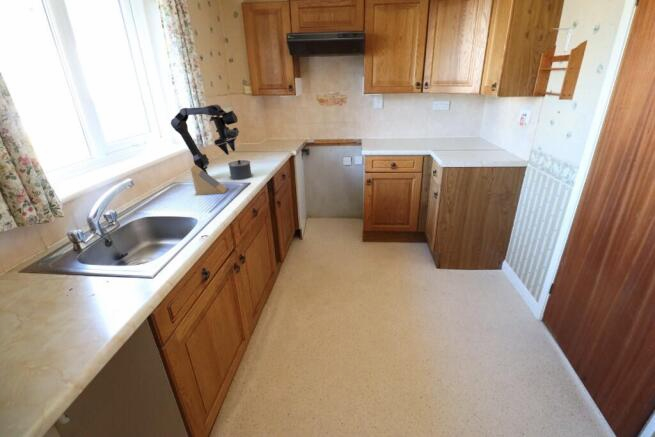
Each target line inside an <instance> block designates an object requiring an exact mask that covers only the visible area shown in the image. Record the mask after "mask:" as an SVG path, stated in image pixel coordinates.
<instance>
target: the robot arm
mask: <svg viewBox="0 0 655 437" xmlns="http://www.w3.org/2000/svg"><path fill="white" fill-rule="evenodd" d="M195 115H207V116H210V118H209V122H213V123H214V126H215V128H216V130H215V132H216V133H218V136H219V137H218V138H217V139H214V141H213V143H214V146H216V147H218V148H219V149H221V151H222V152H224V154H225V155H227V156H228V155H230V153H229V149H228V146H229V148H230V150H232V152H235V151H236V145H235V142H236V140H237V137H239V133H240V131H239V129H238V127H233V128H232V129H230V127H229V125H233V124H237V123H238V116H237V114H236V113H235V112H234V110H230V111H228V112H227V111H226V110H224V109H223V108H222V107H221V105H219V104H210V105H206V106H202V107H201V106H200V107H182V108H180V110H179V112H178V113H176V115H175V116H174V118H172V119H171V120H170V125H171V127H172V129H174V131H175V132H177V133H178V134H179V135H180V137H181V138H182V140H183V142H184V143H185V145H186V146H187V148H188V150H189V152H190V153H191V155H192V157H193V158H192V159H193V163H194V165H197V166H198V167H199V168H200V169H202V170H203V171H204V172H206V173H207V174H208V170H207V169H208V166H209V164H210V159H209V158H208V156H207V154H206V153H204V154H203V153H202V152H201V151H200V149H199V147H198V146H197V143H195V140H194V139H193V137H192V135H191V134H190V131H189V128H188V124H187V121H188V120H189V116H195ZM208 175H209V174H208Z"/></svg>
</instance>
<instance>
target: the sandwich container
mask: <svg viewBox="0 0 655 437" xmlns="http://www.w3.org/2000/svg"><path fill="white" fill-rule="evenodd" d="M190 173H191V178H192V182H193V187H194V191H195V195H196V196H201V195H217V194H225V193H226V192H227V189H228V187H227V186H225V185H223V184H222V183H221V182H219V181H218V180H217V179H215V178H213V176H211V175H210V174H207V173H208V172H207V173H206V172H204V171H203V170H202V169H200V168H199V167H198V166H197V165H195V164H194V165H193V166H192V167H190Z"/></svg>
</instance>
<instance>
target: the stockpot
mask: <svg viewBox="0 0 655 437" xmlns="http://www.w3.org/2000/svg"><path fill="white" fill-rule="evenodd" d="M227 166H228V170H229V175H230V179H231V180H245V179H249V178H251V177H252V176H253V175H252V168H251V161H250V160H246V159H241V160H240V159H238V160H232V161H230V162H228V163H227Z"/></svg>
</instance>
